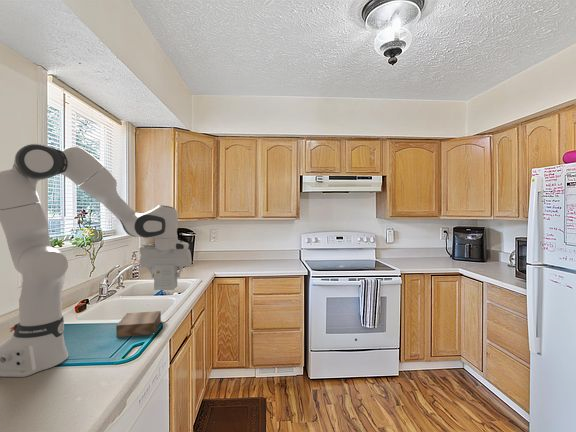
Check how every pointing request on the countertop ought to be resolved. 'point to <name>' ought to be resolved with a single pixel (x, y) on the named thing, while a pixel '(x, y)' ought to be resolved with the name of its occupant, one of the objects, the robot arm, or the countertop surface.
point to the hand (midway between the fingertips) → (166, 277)
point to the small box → (165, 277)
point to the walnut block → (138, 323)
